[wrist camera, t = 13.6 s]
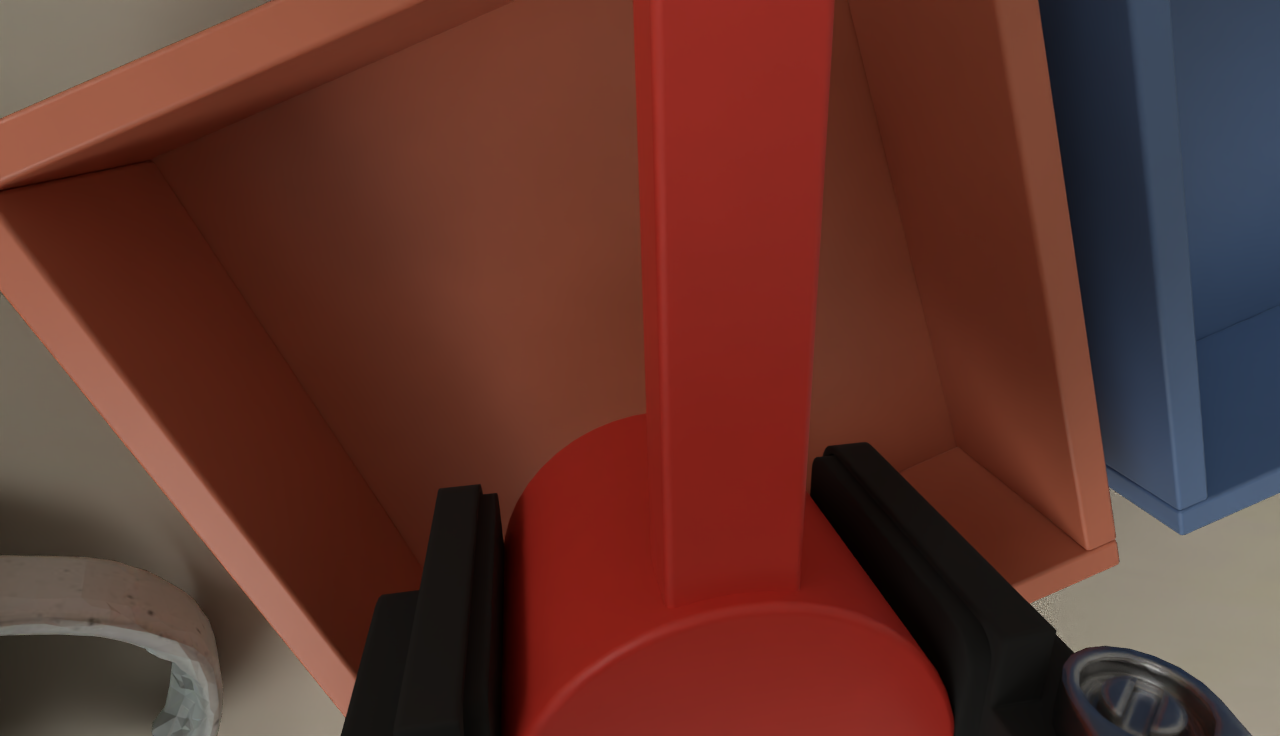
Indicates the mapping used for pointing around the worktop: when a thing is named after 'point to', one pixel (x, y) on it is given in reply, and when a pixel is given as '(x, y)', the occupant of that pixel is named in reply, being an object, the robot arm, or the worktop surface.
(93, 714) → the worktop surface
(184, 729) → the ceramic mug
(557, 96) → the red bin
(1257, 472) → the blue bin
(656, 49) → the red scoop
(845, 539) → the robot arm
